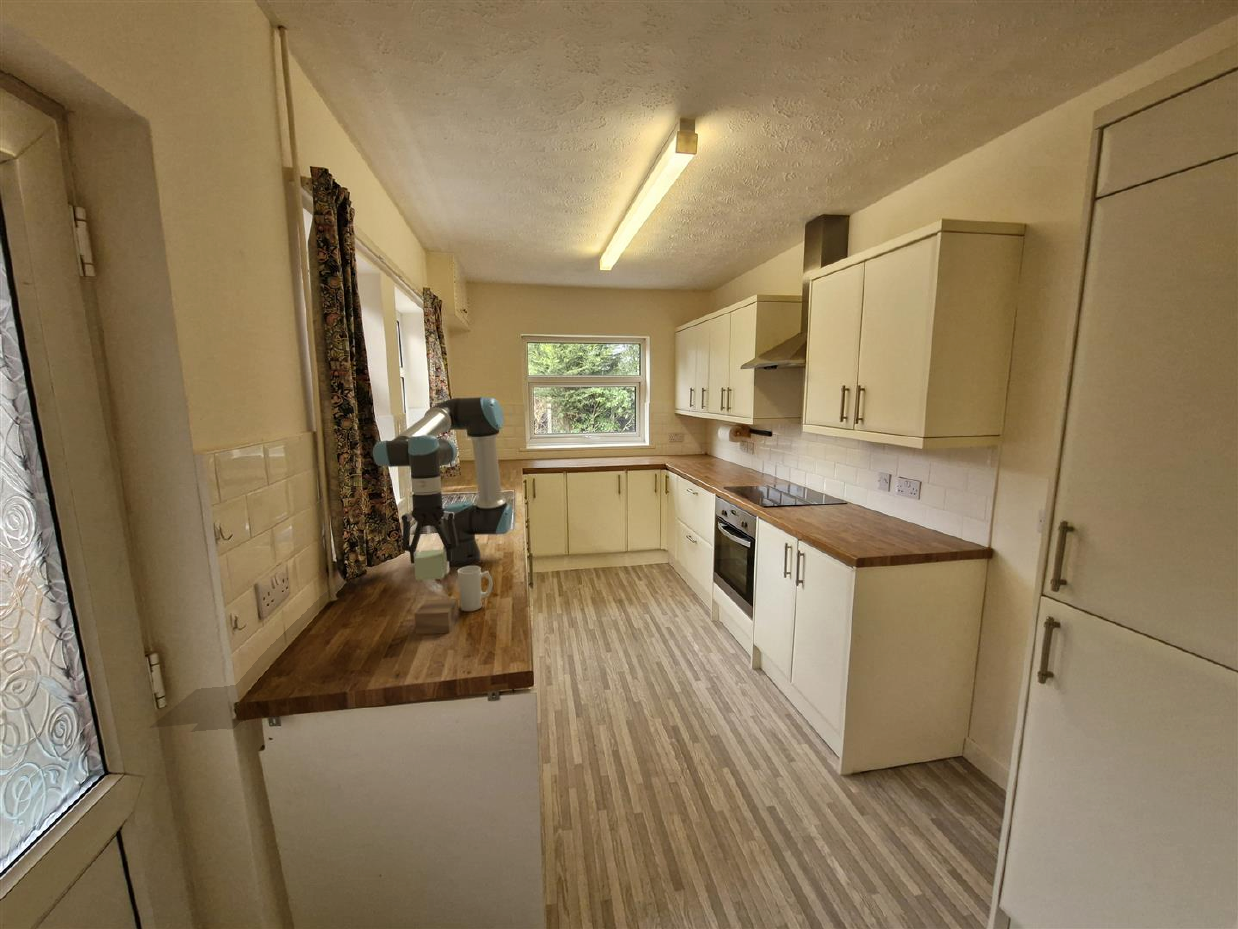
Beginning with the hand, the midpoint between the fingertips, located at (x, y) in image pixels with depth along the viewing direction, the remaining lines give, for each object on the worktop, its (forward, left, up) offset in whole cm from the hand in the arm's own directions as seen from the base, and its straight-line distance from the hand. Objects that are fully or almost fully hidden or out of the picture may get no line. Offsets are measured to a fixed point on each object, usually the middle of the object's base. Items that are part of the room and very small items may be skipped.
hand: (432, 573), depth 132 cm
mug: (-11, +10, -16) cm, 21 cm away
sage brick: (0, 0, 0) cm, 0 cm away
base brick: (0, +1, -16) cm, 16 cm away
